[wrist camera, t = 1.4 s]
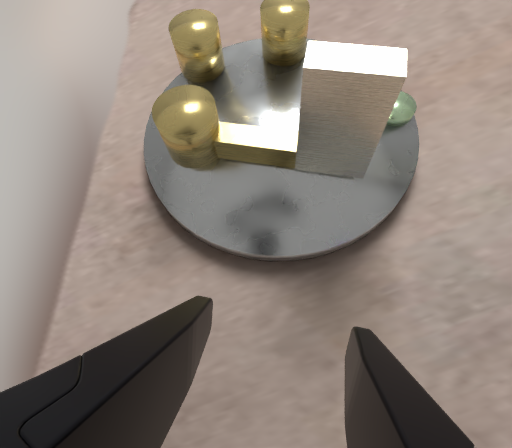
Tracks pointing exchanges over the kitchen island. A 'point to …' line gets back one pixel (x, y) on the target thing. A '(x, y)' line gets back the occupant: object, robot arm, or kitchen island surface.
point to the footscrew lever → (310, 117)
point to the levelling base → (262, 175)
